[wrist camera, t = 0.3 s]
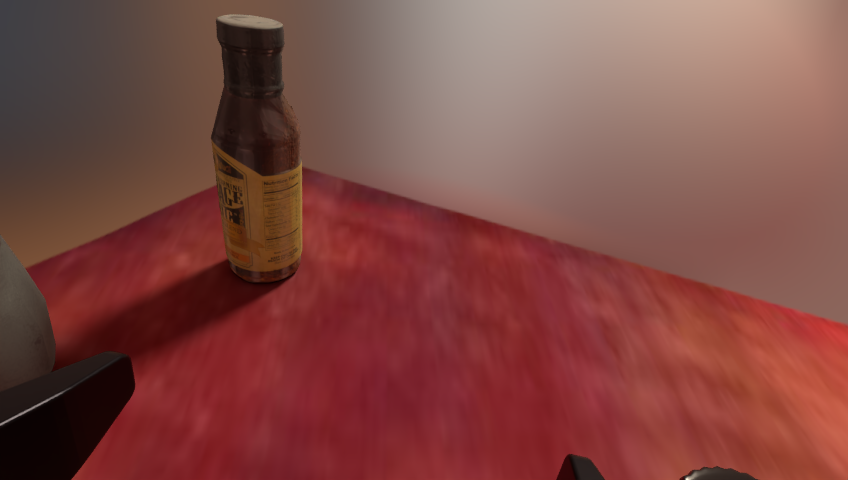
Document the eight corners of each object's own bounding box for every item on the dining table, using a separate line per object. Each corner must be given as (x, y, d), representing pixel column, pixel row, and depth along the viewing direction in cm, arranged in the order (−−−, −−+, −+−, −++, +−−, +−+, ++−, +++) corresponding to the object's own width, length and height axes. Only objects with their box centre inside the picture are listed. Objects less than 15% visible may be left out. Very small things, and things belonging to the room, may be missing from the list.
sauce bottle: (223, 252, 39) (189, 6, 29) (293, 241, 42) (285, 14, 32) (234, 296, 35) (197, 23, 24) (312, 281, 38) (309, 30, 27)
